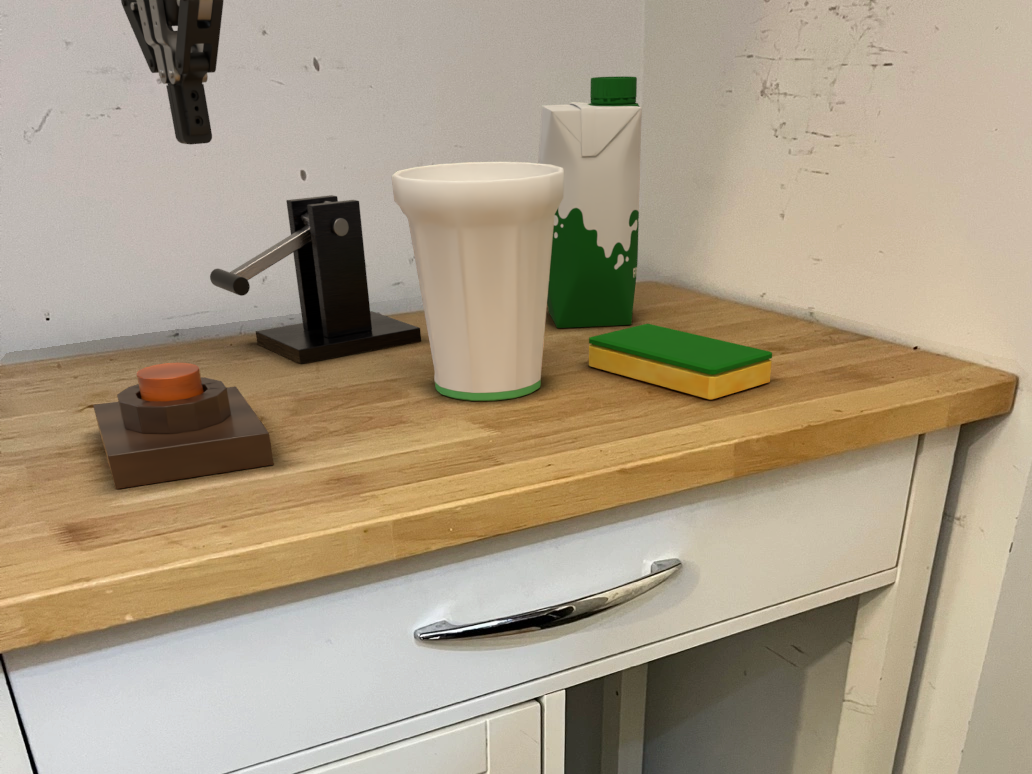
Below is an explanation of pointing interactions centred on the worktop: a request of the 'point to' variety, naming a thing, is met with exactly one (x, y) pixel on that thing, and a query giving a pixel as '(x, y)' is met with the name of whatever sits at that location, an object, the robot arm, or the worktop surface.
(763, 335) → the worktop surface
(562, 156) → the milk carton
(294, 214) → the bracket
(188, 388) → the button
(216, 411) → the button box
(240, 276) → the lever
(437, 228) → the cup
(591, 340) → the dish sponge
